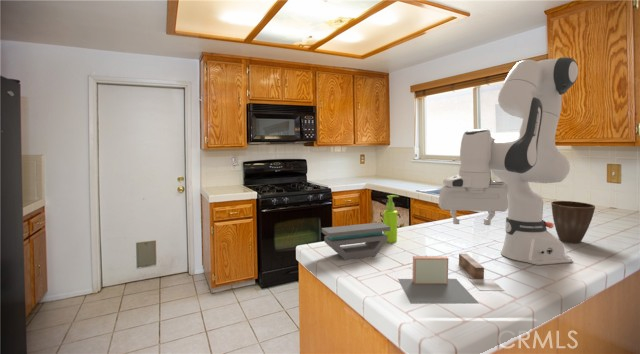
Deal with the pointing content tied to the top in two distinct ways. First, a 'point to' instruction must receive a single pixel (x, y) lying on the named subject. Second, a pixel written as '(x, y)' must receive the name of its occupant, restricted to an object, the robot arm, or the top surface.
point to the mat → (436, 292)
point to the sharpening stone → (356, 239)
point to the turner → (477, 274)
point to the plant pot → (572, 219)
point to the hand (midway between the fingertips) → (471, 224)
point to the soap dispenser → (390, 220)
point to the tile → (430, 270)
